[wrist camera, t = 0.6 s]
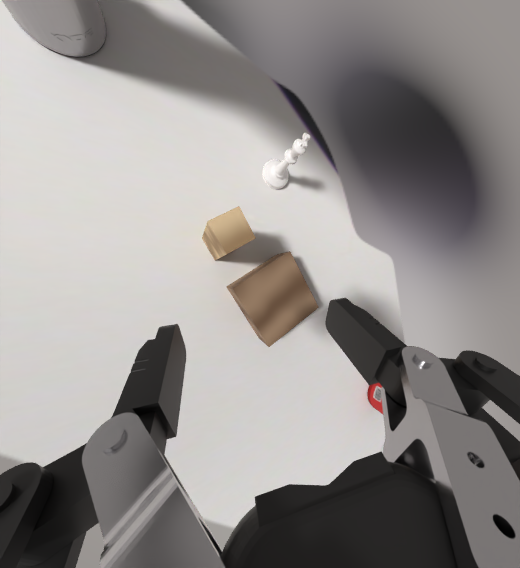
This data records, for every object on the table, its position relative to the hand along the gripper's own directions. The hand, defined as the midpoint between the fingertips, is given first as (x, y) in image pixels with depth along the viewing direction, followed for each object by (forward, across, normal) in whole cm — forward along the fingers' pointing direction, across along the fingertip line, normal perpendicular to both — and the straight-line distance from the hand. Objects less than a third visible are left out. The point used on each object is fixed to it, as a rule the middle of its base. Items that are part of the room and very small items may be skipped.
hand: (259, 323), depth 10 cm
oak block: (+23, +1, +3) cm, 23 cm away
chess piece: (+30, -10, -7) cm, 32 cm away
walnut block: (+20, -6, +12) cm, 24 cm away
